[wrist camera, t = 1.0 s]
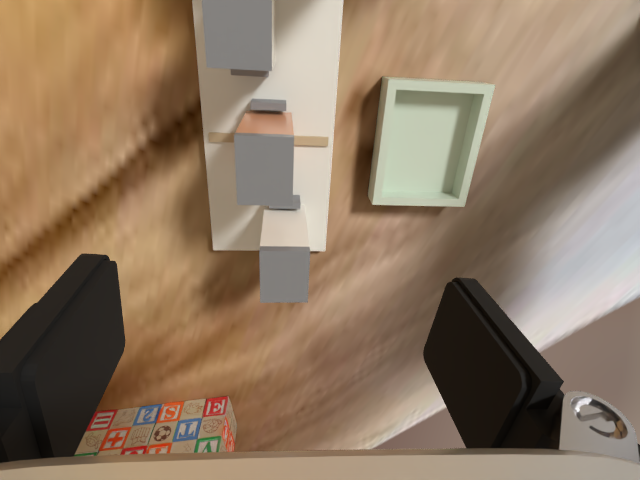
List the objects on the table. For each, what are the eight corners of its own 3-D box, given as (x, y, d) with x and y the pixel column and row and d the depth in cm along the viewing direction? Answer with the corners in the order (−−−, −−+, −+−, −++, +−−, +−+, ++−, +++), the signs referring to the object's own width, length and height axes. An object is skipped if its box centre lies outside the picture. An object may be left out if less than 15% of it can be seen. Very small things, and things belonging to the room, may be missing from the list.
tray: (482, 82, 36) (495, 84, 33) (454, 197, 41) (464, 206, 39) (382, 76, 35) (388, 79, 32) (367, 195, 40) (372, 204, 38)
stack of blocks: (229, 393, 52) (215, 486, 42) (238, 423, 55) (226, 516, 44) (71, 414, 52) (15, 513, 41) (89, 442, 55) (41, 542, 44)
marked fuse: (291, 112, 34) (294, 137, 26) (290, 166, 37) (292, 206, 28) (246, 110, 34) (233, 135, 25) (248, 165, 36) (237, 204, 28)
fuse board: (342, -15, 31) (348, -20, 28) (324, 250, 43) (326, 265, 40) (192, -27, 30) (183, -34, 27) (215, 249, 42) (210, 265, 39)
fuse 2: (304, 204, 39) (310, 251, 30) (302, 247, 41) (307, 302, 33) (264, 203, 38) (259, 251, 30) (265, 246, 41) (260, 302, 32)
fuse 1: (275, -7, 30) (271, -25, 22) (274, 62, 33) (271, 71, 24) (223, -11, 30) (199, -31, 21) (227, 59, 32) (206, 67, 23)
